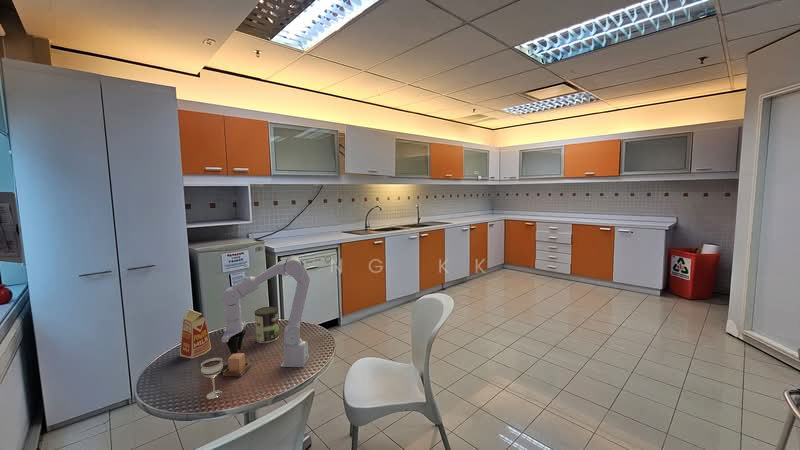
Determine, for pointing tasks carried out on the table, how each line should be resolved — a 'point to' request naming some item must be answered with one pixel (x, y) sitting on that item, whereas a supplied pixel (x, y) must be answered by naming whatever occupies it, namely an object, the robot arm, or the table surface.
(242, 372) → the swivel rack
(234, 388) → the table surface
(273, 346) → the table surface
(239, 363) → the block
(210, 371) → the wineglass
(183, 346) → the milk carton
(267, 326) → the coffee can
